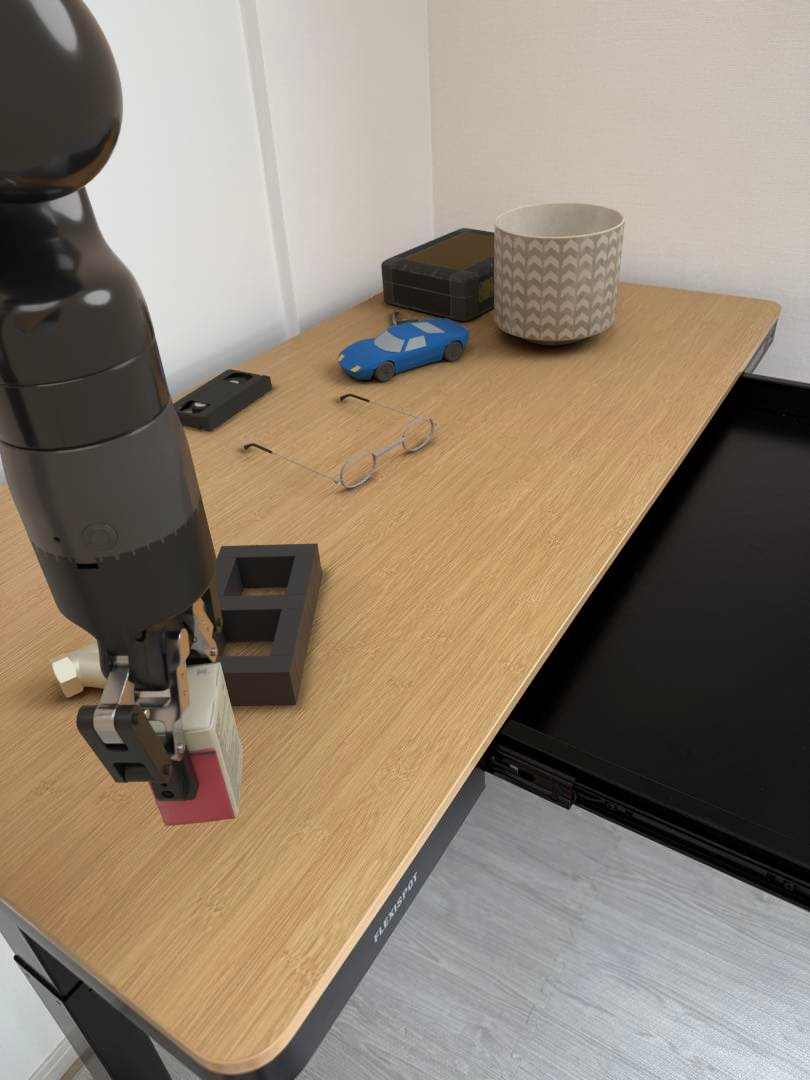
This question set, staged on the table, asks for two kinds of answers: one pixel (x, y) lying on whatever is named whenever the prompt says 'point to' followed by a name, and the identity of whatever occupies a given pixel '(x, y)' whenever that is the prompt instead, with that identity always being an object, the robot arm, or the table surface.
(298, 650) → the socket block
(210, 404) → the vhs tape
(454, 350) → the toy car
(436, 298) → the jewelry box
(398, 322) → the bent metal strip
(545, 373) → the table surface
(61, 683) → the pipe fitting
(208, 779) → the small box
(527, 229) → the planter
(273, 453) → the eyeglasses
